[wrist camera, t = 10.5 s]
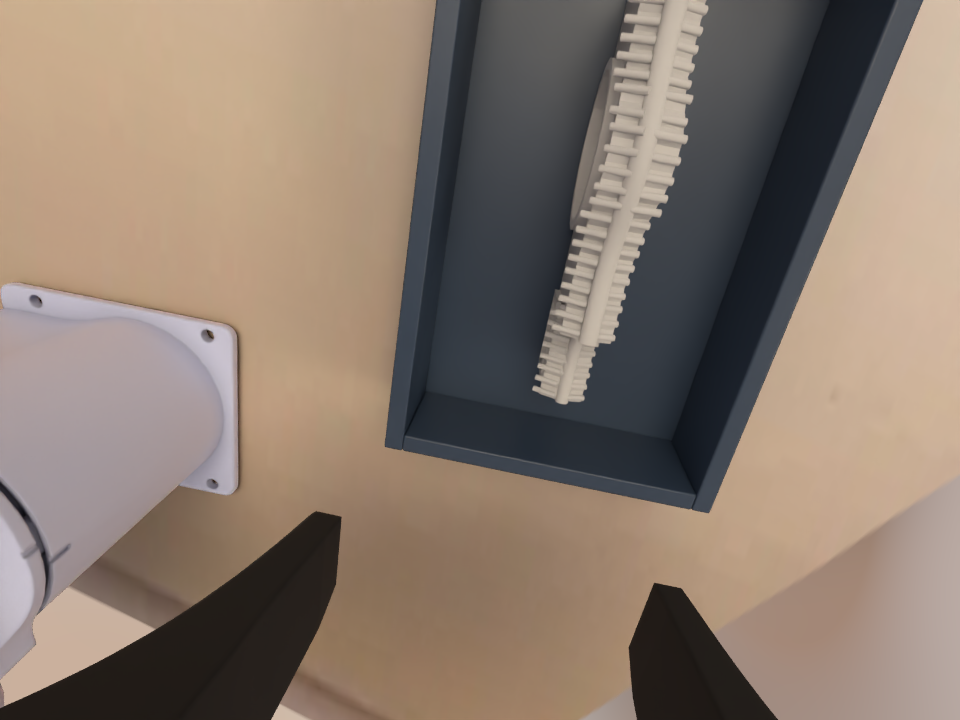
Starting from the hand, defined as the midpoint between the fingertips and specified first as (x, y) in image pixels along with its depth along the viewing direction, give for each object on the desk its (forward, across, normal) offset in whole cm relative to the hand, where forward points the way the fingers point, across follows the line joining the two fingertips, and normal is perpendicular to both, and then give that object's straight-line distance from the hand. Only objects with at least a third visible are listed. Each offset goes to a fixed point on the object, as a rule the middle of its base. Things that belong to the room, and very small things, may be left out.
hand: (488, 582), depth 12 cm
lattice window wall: (+9, -1, -8) cm, 12 cm away
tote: (+9, -2, -8) cm, 12 cm away
